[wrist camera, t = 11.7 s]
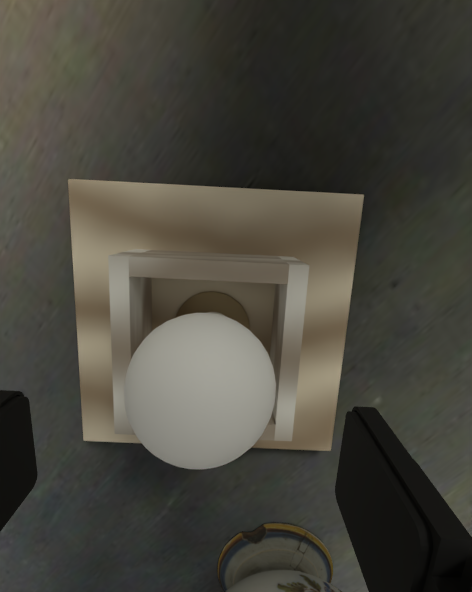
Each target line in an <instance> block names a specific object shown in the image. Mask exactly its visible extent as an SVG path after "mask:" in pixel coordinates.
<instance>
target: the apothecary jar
mask: <svg viewBox="0 0 472 592" xmlns="http://www.w3.org/2000/svg"><path fill="white" fill-rule="evenodd" d="M332 574H333V564H332V559H331V556H330V553H329V551H328V550H327V548H326V546H325V545H324V544H323V543H322V541H321V540H320V539H319V538H317V537H316V536H315V535H314V534H312V533H311V532H309V531H308V530H306V529H304V528H301V527H299V526H296V525H292V524H287V523H266V524H263V525H261V526H260V527H259V528H257V529H256V530H255V531H253V532H240V533H239V534H237V535H236V536H235V537H233V538H232V539H231V540H230V541H229V542H228V543H227V544H226V545H225V547H224V549H223V551H222V553H221V555H220V558H219V562H218V578H219V581H220V584H221V586H222V589H223V590H224V592H341V591H340V590H339V589H337V588H336V587H334V586H333V585H331V584H330V582H331V579H332Z"/></svg>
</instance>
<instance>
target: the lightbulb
mask: <svg viewBox="0 0 472 592" xmlns="http://www.w3.org/2000/svg"><path fill="white" fill-rule="evenodd" d="M275 394H276V381H275V374H274V369H273V365H272V363H271V360H270V358H269V355H268V352H267V351H266V349H265V348H264V346H263V345H262V343H261V342H260V340H259V339H258V338H257V337H256V336H255V335H254V334H253V333H252V332H251V331H250V330H249V329H247V328H246V327H244V326H243V325H242V324H240V323H239V322H237V321H235V320H233V319H231V318H228V317H226V316H224V315H223V314H221V313H218V312H207V313H192V314H186V315H182V316H179V317H177V318H174V319H171V320H169V321H166V322H165V323H163V324H162V325H160V326H158V327H157V328H155V329H154V330H153V331H152V332H151V333H150V334H149V335H148V336H147V337H146V338H145V339H144V340H143V341H142V343H141V344H140V345H139V347H138V348H137V350H136V351H135V353H134V354H133V356H132V359H131V361H130V364H129V366H128V370H127V373H126V378H125V384H124V399H125V410H126V414H127V418H128V421H129V423H130V425H131V427H132V429H133V431H134V433H135V435H136V436H137V438H138V439H139V440H140V442H141V443H142V444H143V445H144V447H145V448H146V449H147V450H149V451H150V452H151V453H152V454H153V455H154V456H156V457H158V458H159V459H161V460H163V461H164V462H166V463H169V464H172V465H174V466H177V467H181V468H186V469H209V468H215V467H219V466H222V465H225V464H228V463H229V462H231V461H233V460H235V459H237V458H238V457H240V456H241V455H242V454H244V453H245V452H246V451H247V450H249V449H250V448H251V447H252V446H253V445H254V444H255V443H256V442H257V441H258V439H259V438H260V437H261V436H262V434H263V432H264V430H265V428H266V426H267V424H268V422H269V420H270V418H271V415H272V411H273V408H274V403H275Z"/></svg>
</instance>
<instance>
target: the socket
mask: <svg viewBox="0 0 472 592" xmlns="http://www.w3.org/2000/svg"><path fill="white" fill-rule="evenodd" d="M68 189H69V206H70V222H71V239H72V256H73V273H74V289H75V306H76V323H77V340H78V356H79V373H80V390H81V407H82V423H83V440H84V441H99V442H123V443H141V442H140V440H139V439H138V438H137V436H136V435H135V433H134V431H133V429H132V427H131V425H130V423H129V421H128V418H127V414H126V410H125V399H124V384H125V378H126V373H127V370H128V366H129V364H130V361H131V359H132V356H133V354H134V353H135V351H136V350H137V348H138V347H139V345H140V344H141V343H142V341H143V340H144V339H145V338H146V337H147V336H148V335H149V334H150V333H151V332H152V331H153V330H154V329H155V328H157V327H158V326H160V325H162V324H163V323H165V322H166V321H169V320H171V319H174V318H177V317H179V316H182V315H186V314H192V313H207V312H218V313H221V314H223V315H224V316H226V317H228V318H231V319H233V320H235V321H237V322H239V323H240V324H242V325H243V326H244V327H246V328H247V329H249V330H250V331H251V332H252V333H253V334H254V335H255V336H256V337H257V338H258V339H259V340H260V342H261V343H262V345H263V346H264V348H265V349H266V351H267V352H268V355H269V358H270V360H271V363H272V365H273V369H274V374H275V381H276V394H275V403H274V408H273V411H272V415H271V418H270V420H269V422H268V424H267V426H266V428H265V430H264V432H263V434H262V436H261V437H260V438H259V439H258V441H257V442H256V443H255V444H254V445H253V446H252V447H251V448H271V449H295V450H320V451H331V445H332V437H333V429H334V422H335V414H336V406H337V399H338V391H339V383H340V376H341V368H342V360H343V353H344V345H345V337H346V330H347V322H348V314H349V307H350V299H351V291H352V284H353V276H354V268H355V261H356V253H357V245H358V238H359V230H360V223H361V215H362V207H363V200H364V195H361V194H343V193H324V192H305V191H286V190H268V189H249V188H230V187H211V186H192V185H174V184H155V183H136V182H117V181H98V180H80V179H68Z"/></svg>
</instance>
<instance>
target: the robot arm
mask: <svg viewBox="0 0 472 592" xmlns="http://www.w3.org/2000/svg"><path fill="white" fill-rule="evenodd" d="M36 480H37V466H36V457H35V449H34V440H33V431H32V423H31V414H30V405H29V400H28V398H27V397H24V395H23V393H22V392H20V391H3V390H0V531H1V530H2V529H3V527H4V526H5V525H6V523H7V522H8V521H9V519H10V518H11V517H12V515H13V514H14V513H15V511H16V510H17V509H18V507H19V506H20V505H21V503H22V502H23V501H24V499H25V498H26V497H27V495H28V494H29V493H30V491H31V490H32V489H33V487H34V485H35V483H36ZM335 493H336V500H337V503H338V506H339V509H340V511H341V514H342V517H343V520H344V523H345V525H346V528H347V531H348V534H349V537H350V540H351V542H352V545H353V548H354V551H355V554H356V557H357V559H358V562H359V565H360V568H361V571H362V573H363V576H364V579H365V582H366V585H367V588H368V590H369V592H472V537H471V536H470V534H469V533H468V532H467V530H466V529H465V528H464V526H463V525H462V523H461V522H460V521H459V519H458V518H457V517H456V515H455V514H454V513H453V511H452V510H451V509H450V507H449V506H448V504H447V503H446V502H445V500H444V499H443V498H442V496H441V495H440V494H439V492H438V491H437V489H436V488H435V487H434V485H433V484H432V483H431V481H430V480H429V479H428V477H427V476H426V475H425V473H424V472H423V470H422V469H421V468H420V466H419V465H418V464H417V463H416V462H415V460H414V459H412V457H411V456H410V454H409V453H408V452H407V450H406V449H405V448H404V446H403V445H402V444H401V442H400V441H399V439H398V438H397V437H396V435H395V434H394V433H393V431H392V430H391V428H390V427H389V426H388V424H387V423H386V422H385V420H384V419H383V418H382V416H381V415H380V413H379V412H378V411H377V409H375V408H373V407H354V408H353V410H352V412H350V411H348V412H347V414H346V419H345V425H344V432H343V439H342V445H341V452H340V459H339V466H338V472H337V479H336V486H335Z"/></svg>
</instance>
